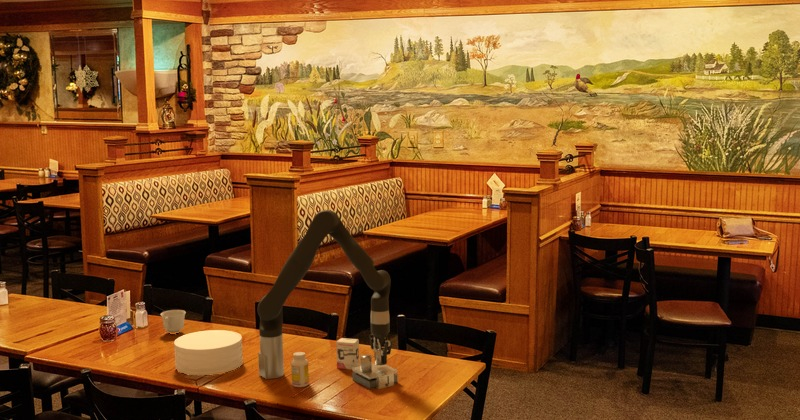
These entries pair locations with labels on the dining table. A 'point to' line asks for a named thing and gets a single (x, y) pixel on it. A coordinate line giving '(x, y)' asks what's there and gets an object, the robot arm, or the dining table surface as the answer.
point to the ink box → (347, 353)
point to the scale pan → (375, 370)
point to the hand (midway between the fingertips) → (380, 362)
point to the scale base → (376, 380)
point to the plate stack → (208, 352)
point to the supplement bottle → (299, 370)
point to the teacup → (173, 320)
